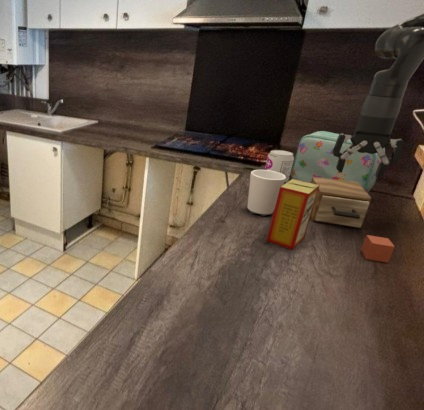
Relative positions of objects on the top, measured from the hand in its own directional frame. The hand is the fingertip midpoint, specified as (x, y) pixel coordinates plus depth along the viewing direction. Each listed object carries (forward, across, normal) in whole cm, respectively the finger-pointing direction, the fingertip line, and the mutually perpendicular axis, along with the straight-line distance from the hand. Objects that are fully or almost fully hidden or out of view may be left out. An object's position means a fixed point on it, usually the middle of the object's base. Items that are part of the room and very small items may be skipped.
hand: (358, 174), depth 98 cm
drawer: (+16, +1, -6) cm, 17 cm away
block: (+17, -6, +14) cm, 23 cm away
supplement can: (+17, +18, -23) cm, 34 cm away
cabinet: (+17, +1, -10) cm, 20 cm away
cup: (+17, +22, -2) cm, 28 cm away
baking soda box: (+17, +14, +15) cm, 27 cm away
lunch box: (+17, -1, -37) cm, 40 cm away
